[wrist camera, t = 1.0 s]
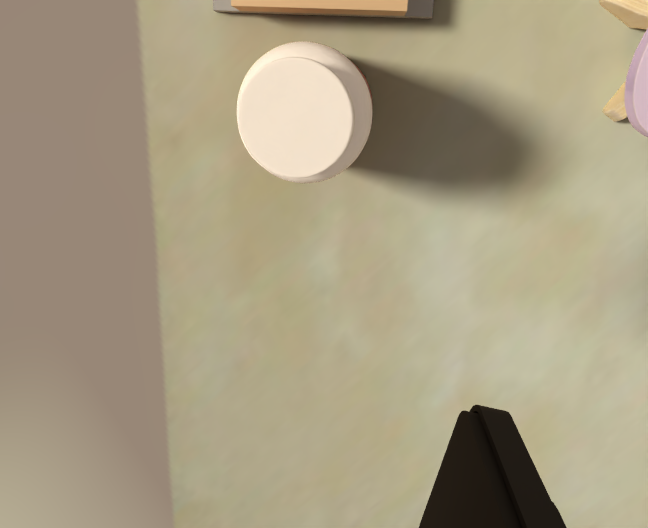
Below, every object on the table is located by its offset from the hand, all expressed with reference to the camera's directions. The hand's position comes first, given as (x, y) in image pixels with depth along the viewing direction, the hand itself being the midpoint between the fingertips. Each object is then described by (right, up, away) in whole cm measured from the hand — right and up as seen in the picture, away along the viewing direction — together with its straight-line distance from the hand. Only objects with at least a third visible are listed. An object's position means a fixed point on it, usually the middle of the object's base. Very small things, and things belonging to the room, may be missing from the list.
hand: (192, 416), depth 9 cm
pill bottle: (+2, +12, +22) cm, 25 cm away
